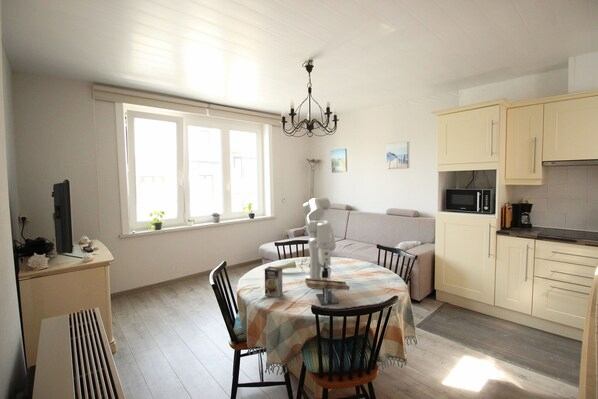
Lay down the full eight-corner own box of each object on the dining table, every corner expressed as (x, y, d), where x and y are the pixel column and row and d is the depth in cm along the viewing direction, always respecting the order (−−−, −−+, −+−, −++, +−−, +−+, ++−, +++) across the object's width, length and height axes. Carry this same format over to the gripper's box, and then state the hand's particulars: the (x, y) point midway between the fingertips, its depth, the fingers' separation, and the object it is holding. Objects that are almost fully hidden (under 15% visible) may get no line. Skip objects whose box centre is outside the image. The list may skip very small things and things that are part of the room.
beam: (307, 287, 157) (308, 283, 157) (305, 282, 165) (305, 278, 165) (349, 290, 161) (349, 286, 161) (344, 285, 168) (345, 281, 168)
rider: (321, 278, 160) (322, 268, 160) (319, 276, 164) (320, 265, 164) (329, 279, 161) (331, 269, 161) (327, 276, 165) (329, 266, 165)
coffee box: (264, 295, 170) (264, 269, 169) (269, 291, 176) (268, 265, 175) (278, 297, 167) (277, 270, 166) (282, 293, 173) (282, 267, 172)
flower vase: (273, 281, 215) (318, 269, 216) (271, 282, 203) (319, 270, 204) (270, 265, 217) (314, 254, 218) (268, 265, 205) (315, 253, 206)
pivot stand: (321, 305, 156) (320, 287, 156) (316, 295, 169) (315, 279, 168) (338, 303, 158) (338, 286, 157) (332, 294, 171) (332, 278, 170)
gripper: (334, 248, 153) (334, 281, 155) (326, 241, 170) (326, 270, 171) (321, 248, 152) (321, 282, 154) (313, 241, 169) (314, 271, 170)
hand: (323, 275), depth 162 cm, fingers closed on rider, 4 cm apart
